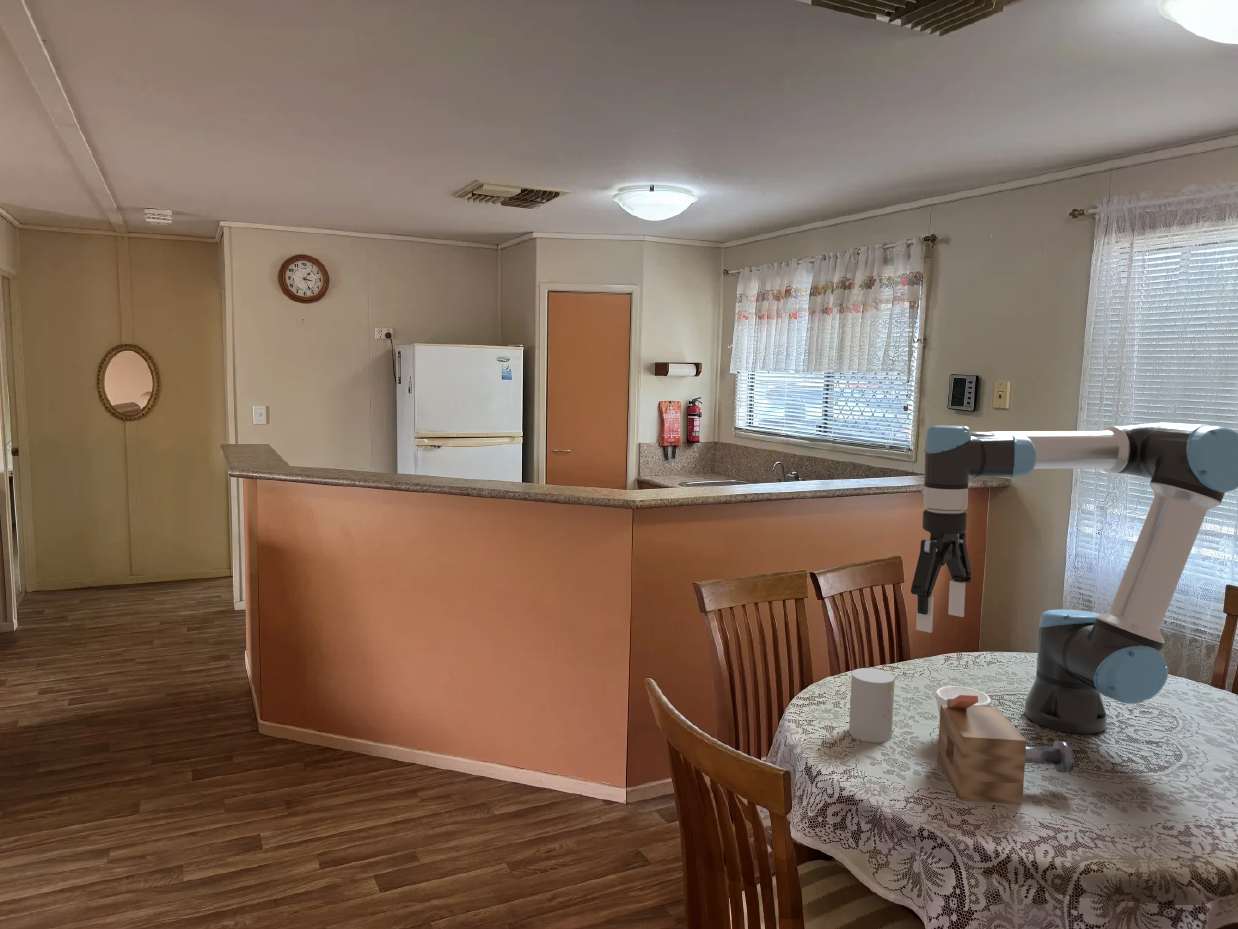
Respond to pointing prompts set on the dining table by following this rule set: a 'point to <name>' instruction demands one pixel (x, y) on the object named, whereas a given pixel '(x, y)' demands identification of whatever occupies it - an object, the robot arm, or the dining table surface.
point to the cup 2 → (955, 691)
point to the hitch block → (981, 754)
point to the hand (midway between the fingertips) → (940, 623)
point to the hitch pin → (1052, 756)
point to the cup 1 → (871, 705)
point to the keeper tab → (962, 701)
